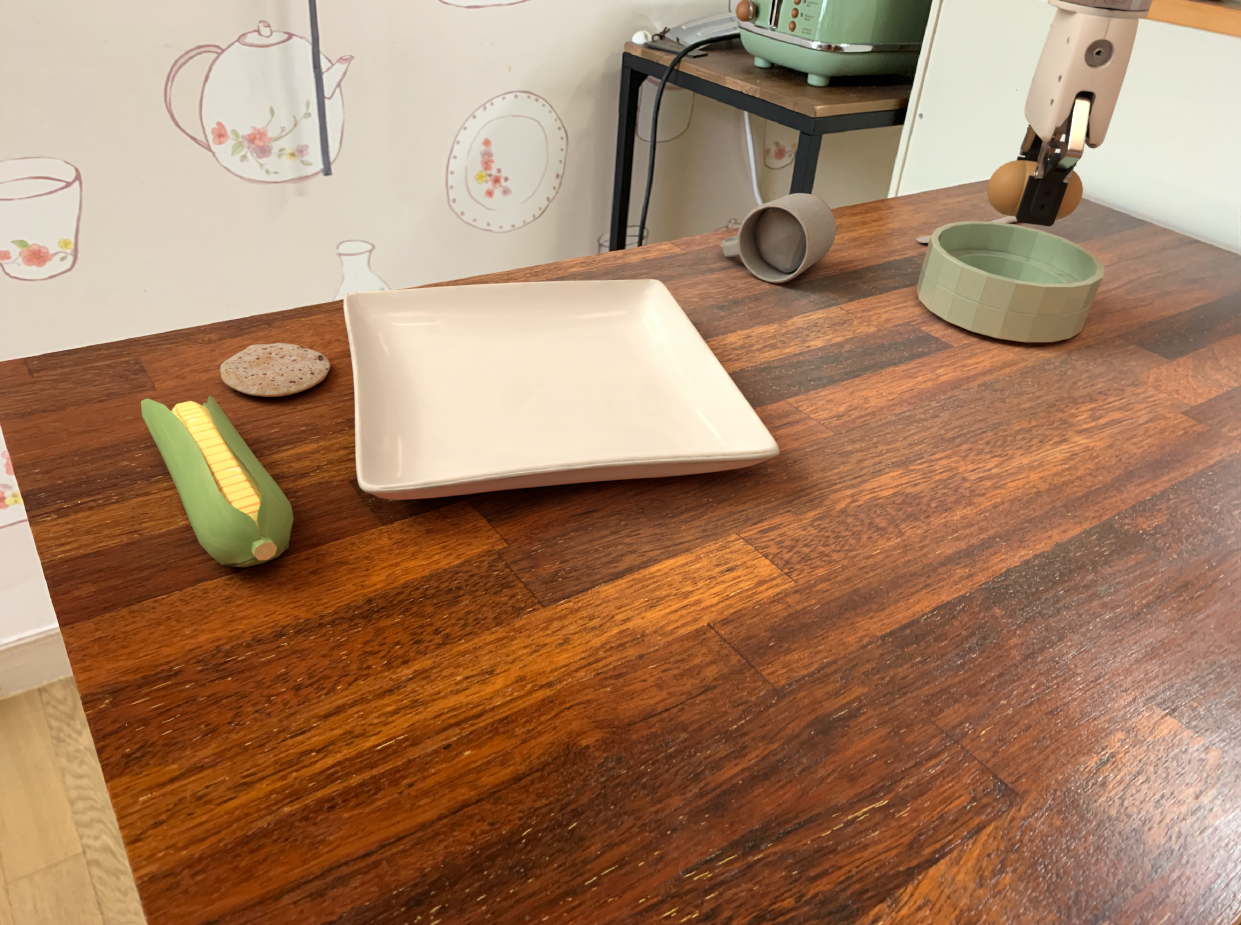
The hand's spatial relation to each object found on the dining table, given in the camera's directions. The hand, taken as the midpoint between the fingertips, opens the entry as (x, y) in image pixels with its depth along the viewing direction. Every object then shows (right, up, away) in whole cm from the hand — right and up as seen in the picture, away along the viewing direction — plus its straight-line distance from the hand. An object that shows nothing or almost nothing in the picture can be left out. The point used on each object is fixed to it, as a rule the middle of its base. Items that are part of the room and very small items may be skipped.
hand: (1028, 210), depth 84 cm
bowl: (-1, -8, +6) cm, 10 cm away
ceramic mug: (-22, -3, +10) cm, 24 cm away
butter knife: (+7, +5, +25) cm, 27 cm away
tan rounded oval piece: (0, 0, 0) cm, 1 cm away
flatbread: (-63, -16, -14) cm, 66 cm away
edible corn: (-62, -25, -25) cm, 72 cm away
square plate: (-43, -18, -14) cm, 49 cm away
